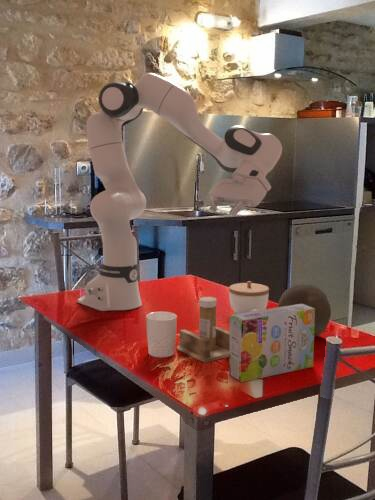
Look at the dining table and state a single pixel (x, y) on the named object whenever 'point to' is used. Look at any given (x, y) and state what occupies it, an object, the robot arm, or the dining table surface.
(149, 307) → the dining table surface
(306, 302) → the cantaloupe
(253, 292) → the lidded white jar
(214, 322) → the sprinkles bottle
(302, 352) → the snack box
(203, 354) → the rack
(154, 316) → the white cup
